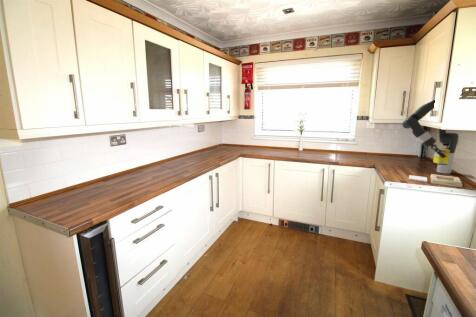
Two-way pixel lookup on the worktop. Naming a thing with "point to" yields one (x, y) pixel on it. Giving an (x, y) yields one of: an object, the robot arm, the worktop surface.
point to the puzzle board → (446, 180)
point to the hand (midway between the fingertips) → (443, 156)
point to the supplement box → (439, 159)
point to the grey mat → (418, 178)
